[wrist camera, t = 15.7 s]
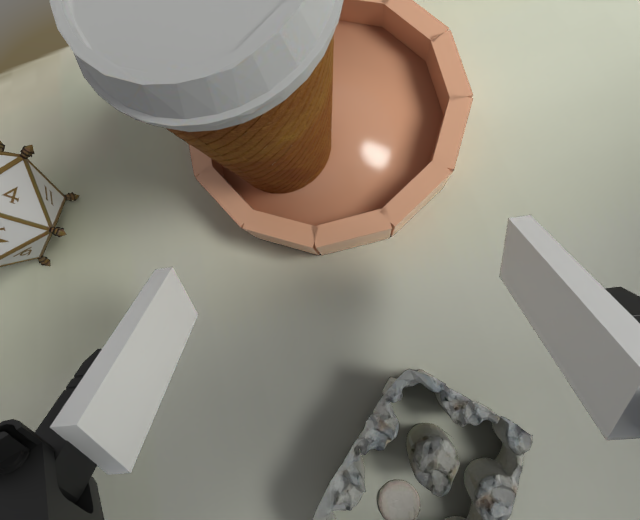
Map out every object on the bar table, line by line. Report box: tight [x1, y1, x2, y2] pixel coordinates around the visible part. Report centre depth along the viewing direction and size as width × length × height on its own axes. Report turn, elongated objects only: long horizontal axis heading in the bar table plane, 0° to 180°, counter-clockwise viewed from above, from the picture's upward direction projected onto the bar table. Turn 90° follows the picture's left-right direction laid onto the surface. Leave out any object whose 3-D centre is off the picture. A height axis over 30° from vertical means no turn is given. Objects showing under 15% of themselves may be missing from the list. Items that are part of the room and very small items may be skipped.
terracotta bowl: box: [189, 0, 473, 255], centre depth 21 cm, size 16×16×2 cm
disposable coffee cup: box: [50, 0, 344, 194], centre depth 16 cm, size 10×10×12 cm
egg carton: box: [312, 369, 533, 520], centre depth 17 cm, size 11×8×4 cm
